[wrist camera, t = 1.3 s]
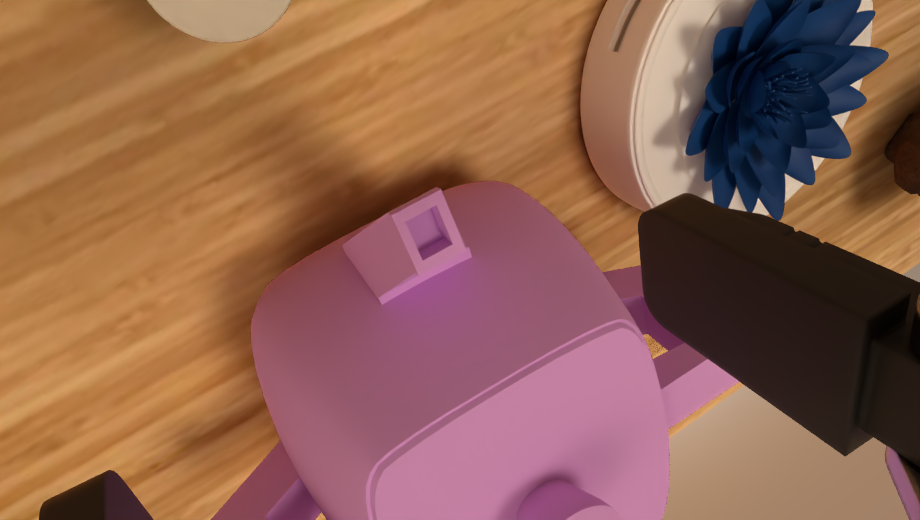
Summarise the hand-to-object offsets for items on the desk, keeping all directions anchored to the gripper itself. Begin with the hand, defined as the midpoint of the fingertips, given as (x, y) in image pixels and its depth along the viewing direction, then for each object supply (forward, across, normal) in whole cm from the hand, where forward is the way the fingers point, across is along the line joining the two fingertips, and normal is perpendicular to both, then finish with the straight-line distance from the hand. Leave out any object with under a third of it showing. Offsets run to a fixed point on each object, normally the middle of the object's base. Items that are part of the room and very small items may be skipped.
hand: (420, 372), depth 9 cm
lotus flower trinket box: (+20, -23, +5) cm, 31 cm away
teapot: (+20, -4, +14) cm, 24 cm away
